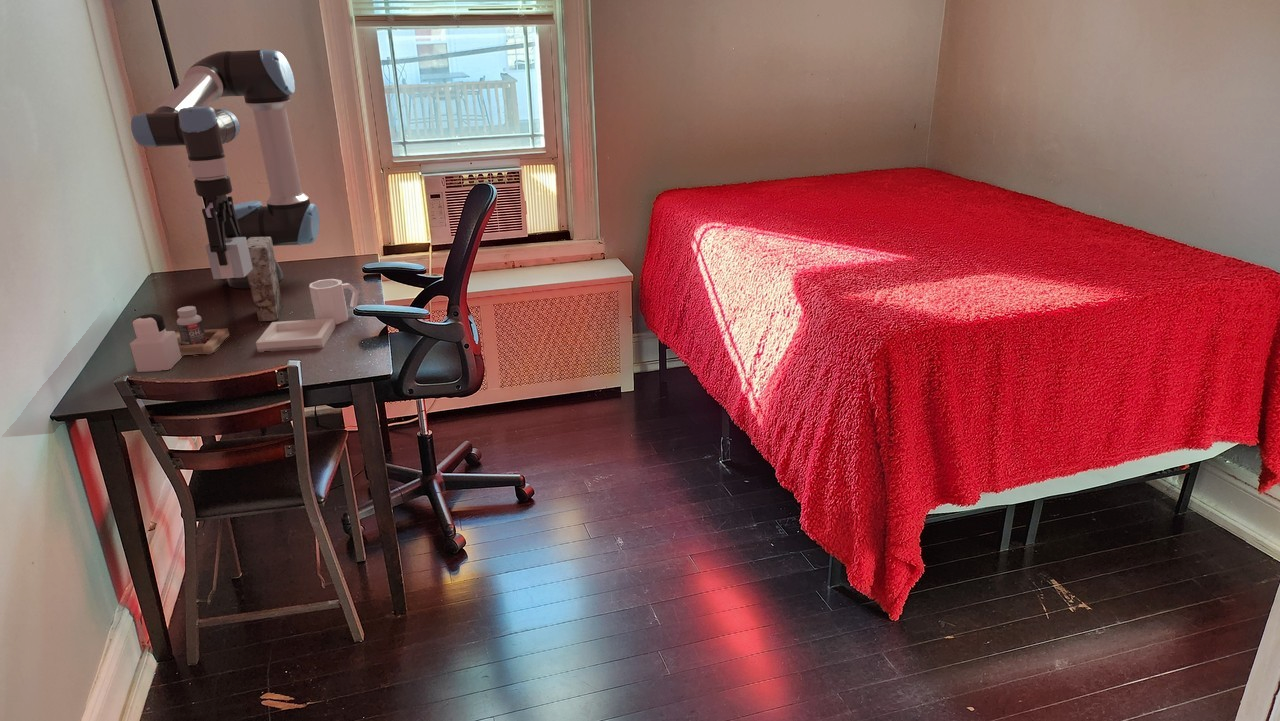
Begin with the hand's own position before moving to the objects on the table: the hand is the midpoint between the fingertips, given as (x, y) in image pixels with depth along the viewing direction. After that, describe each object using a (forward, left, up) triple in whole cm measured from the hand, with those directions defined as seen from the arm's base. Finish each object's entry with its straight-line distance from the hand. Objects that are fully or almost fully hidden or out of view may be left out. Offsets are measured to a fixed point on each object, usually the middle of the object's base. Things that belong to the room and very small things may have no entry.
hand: (233, 272), depth 201 cm
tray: (+4, +13, -17) cm, 22 cm away
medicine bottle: (+15, -15, -17) cm, 27 cm away
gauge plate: (+4, -11, -17) cm, 20 cm away
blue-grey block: (0, 0, 0) cm, 0 cm away
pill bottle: (+4, -11, -17) cm, 21 cm away
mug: (-10, +20, -17) cm, 28 cm away
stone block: (-17, +1, -17) cm, 24 cm away
